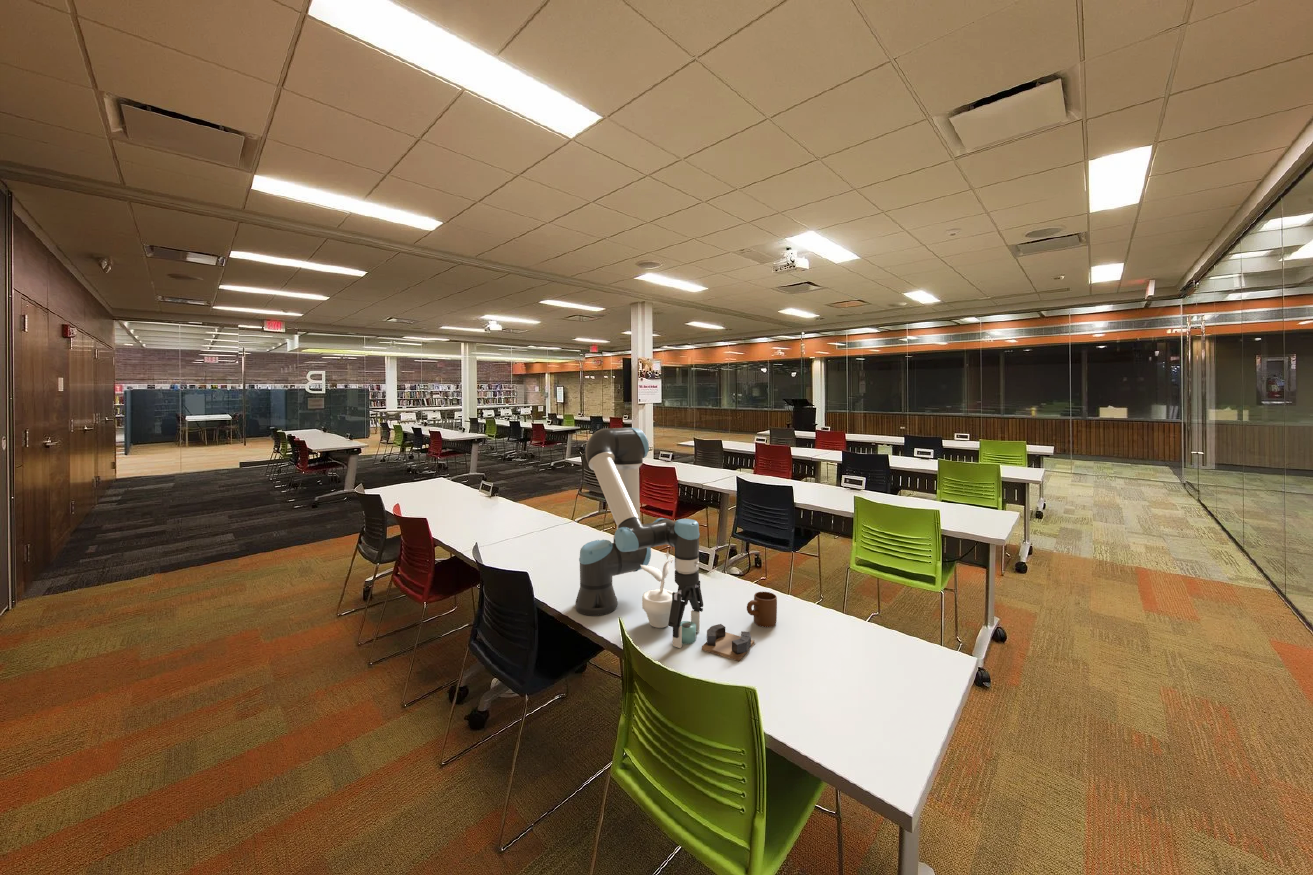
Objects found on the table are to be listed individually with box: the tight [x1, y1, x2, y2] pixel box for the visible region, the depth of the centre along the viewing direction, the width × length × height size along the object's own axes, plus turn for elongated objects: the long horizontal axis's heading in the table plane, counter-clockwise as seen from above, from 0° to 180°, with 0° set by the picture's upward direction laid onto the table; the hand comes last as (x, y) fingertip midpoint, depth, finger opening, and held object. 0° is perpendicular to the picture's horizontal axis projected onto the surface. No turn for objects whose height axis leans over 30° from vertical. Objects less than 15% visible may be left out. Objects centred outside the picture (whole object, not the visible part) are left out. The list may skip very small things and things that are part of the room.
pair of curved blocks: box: [706, 623, 752, 655], centre depth 143 cm, size 13×9×3 cm
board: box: [701, 631, 756, 662], centre depth 143 cm, size 12×12×1 cm
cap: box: [680, 620, 697, 645], centre depth 148 cm, size 6×6×5 cm
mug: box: [746, 591, 778, 628], centre depth 157 cm, size 12×8×9 cm, turn 123°
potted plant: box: [640, 549, 674, 629], centre depth 157 cm, size 13×12×25 cm
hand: (686, 638), depth 148 cm, fingers open, 11 cm apart
